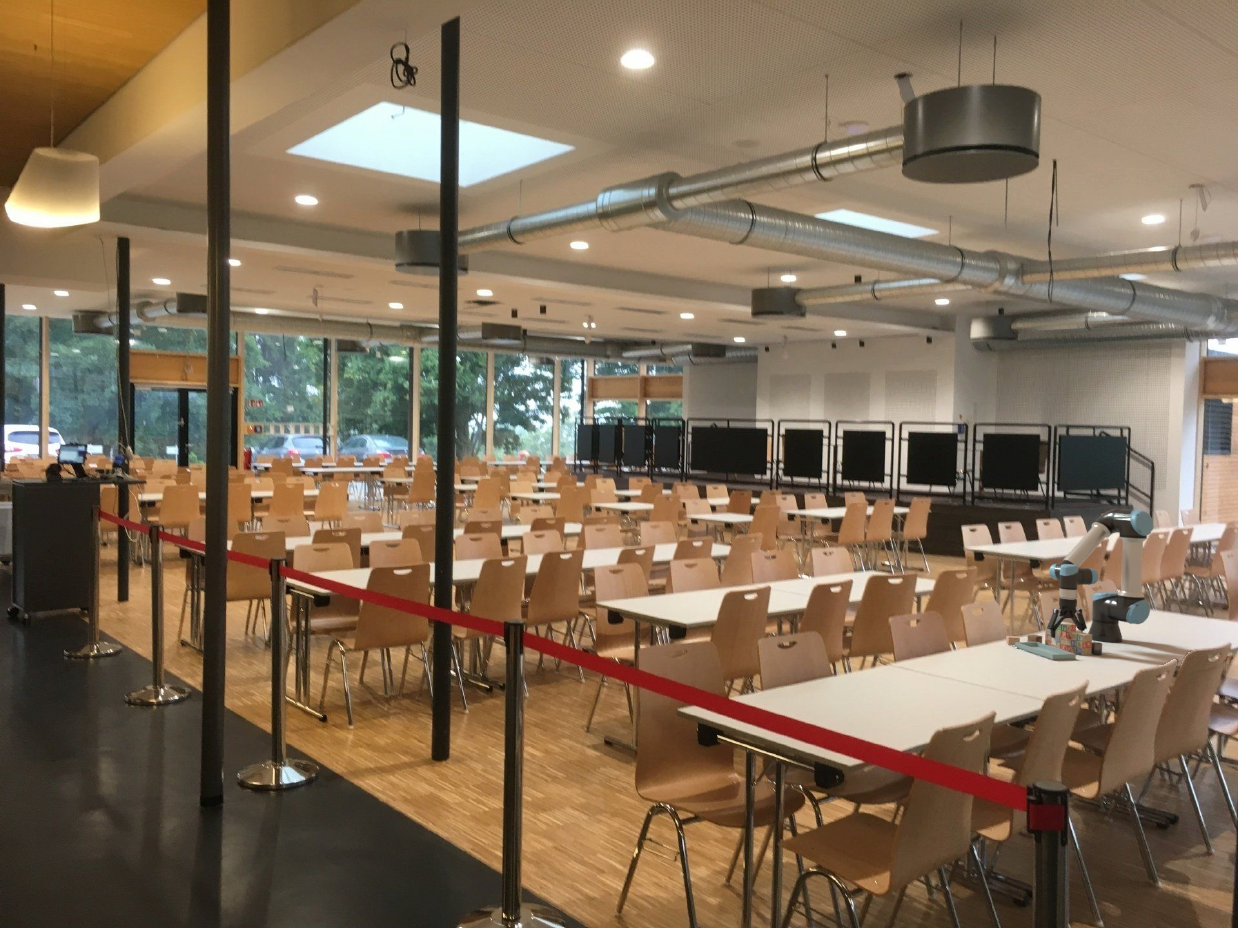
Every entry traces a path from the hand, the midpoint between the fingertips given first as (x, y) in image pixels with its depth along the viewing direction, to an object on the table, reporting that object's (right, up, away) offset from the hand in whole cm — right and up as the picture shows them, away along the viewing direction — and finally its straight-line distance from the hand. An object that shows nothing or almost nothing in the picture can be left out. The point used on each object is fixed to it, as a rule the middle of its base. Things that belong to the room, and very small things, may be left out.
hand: (1066, 644), depth 453 cm
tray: (-14, -2, -9) cm, 17 cm away
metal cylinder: (+10, -3, -8) cm, 13 cm away
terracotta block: (-21, -2, +8) cm, 23 cm away
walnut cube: (-11, -2, +10) cm, 15 cm away
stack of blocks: (0, -3, 0) cm, 3 cm away
